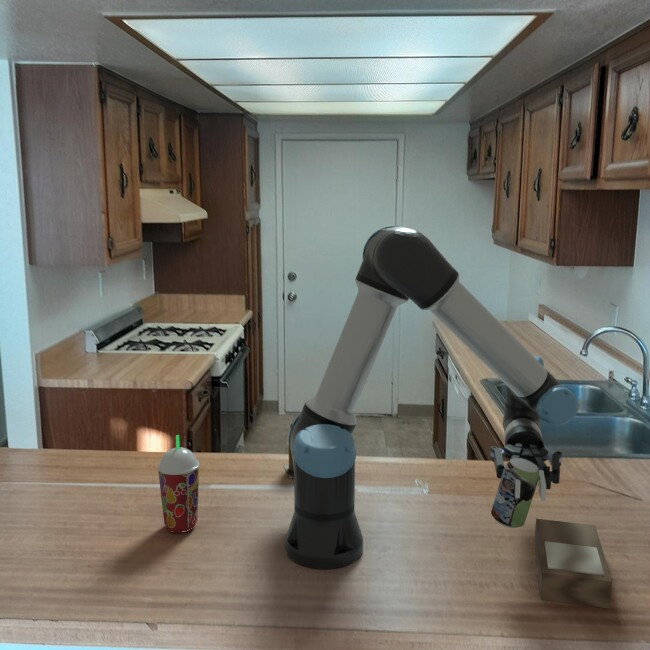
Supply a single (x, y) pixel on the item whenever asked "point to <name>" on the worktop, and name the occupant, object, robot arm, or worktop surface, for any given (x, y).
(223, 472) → the worktop surface
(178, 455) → the smoothie
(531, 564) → the worktop surface
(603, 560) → the riser
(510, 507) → the beverage can
